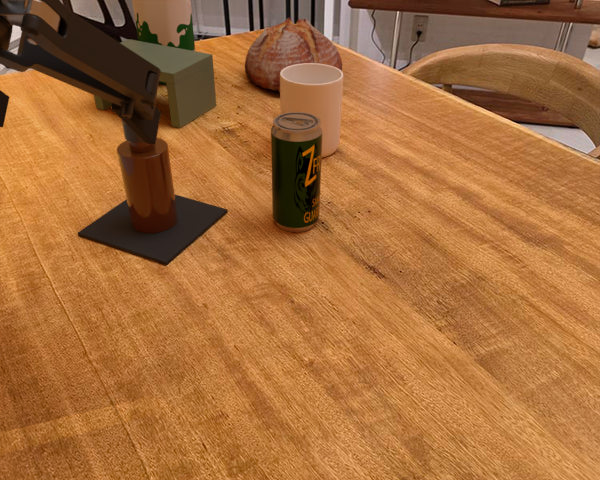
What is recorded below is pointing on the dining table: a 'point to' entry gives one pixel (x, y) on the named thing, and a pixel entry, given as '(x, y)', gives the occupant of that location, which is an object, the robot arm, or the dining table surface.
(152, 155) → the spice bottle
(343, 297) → the dining table surface
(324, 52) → the bread
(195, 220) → the mat
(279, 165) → the beer can
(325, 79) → the mug
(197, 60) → the shelf
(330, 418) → the dining table surface
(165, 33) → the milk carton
